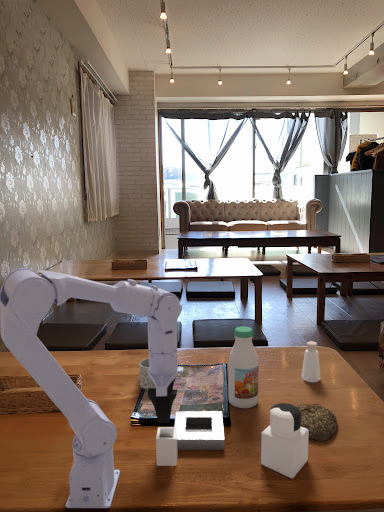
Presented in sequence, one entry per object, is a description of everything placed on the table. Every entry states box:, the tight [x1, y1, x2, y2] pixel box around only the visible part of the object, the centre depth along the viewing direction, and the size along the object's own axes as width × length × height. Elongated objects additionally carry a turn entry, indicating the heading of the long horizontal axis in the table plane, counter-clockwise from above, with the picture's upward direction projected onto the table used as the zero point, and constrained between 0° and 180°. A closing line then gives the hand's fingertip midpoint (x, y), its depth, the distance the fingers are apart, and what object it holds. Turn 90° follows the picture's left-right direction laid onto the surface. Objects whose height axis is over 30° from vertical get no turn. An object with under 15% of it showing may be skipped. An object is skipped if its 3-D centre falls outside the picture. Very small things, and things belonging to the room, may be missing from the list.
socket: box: [173, 410, 225, 451], centre depth 93 cm, size 11×11×2 cm
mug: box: [138, 358, 156, 389], centre depth 118 cm, size 10×7×7 cm
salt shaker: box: [300, 340, 321, 383], centre depth 119 cm, size 5×5×11 cm
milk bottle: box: [227, 325, 259, 409], centre depth 106 cm, size 8×8×20 cm
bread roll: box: [295, 403, 338, 442], centre depth 97 cm, size 13×12×5 cm
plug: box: [155, 426, 179, 467], centre depth 84 cm, size 4×4×6 cm
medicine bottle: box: [260, 402, 309, 479], centre depth 82 cm, size 7×7×12 cm
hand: (164, 411), depth 84 cm, fingers open, 7 cm apart
